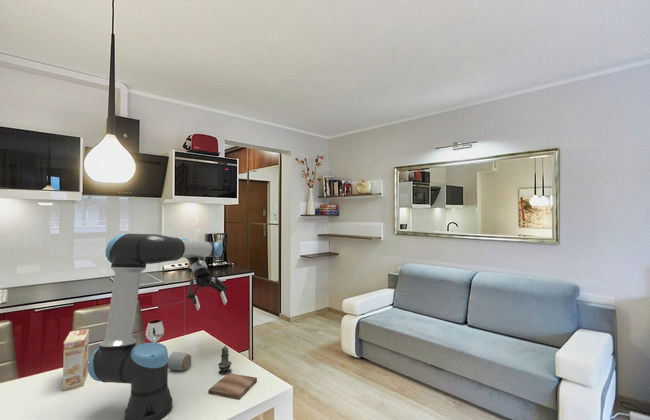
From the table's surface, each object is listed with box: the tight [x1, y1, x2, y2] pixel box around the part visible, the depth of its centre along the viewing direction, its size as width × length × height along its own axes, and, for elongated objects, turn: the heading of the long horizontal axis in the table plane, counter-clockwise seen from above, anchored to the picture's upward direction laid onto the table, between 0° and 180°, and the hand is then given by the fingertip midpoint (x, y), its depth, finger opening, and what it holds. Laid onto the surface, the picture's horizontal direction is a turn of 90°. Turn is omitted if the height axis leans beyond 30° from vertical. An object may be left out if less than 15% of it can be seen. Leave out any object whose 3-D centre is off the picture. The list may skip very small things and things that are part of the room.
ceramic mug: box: [168, 351, 192, 371], centre depth 146 cm, size 11×8×8 cm
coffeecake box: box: [62, 328, 90, 392], centre depth 135 cm, size 15×7×20 cm, turn 31°
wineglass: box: [145, 319, 165, 343], centre depth 156 cm, size 8×8×18 cm
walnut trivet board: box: [207, 372, 258, 400], centre depth 130 cm, size 14×14×2 cm
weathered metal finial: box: [217, 345, 233, 376], centre depth 142 cm, size 6×6×12 cm
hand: (212, 306), depth 154 cm, fingers open, 13 cm apart
